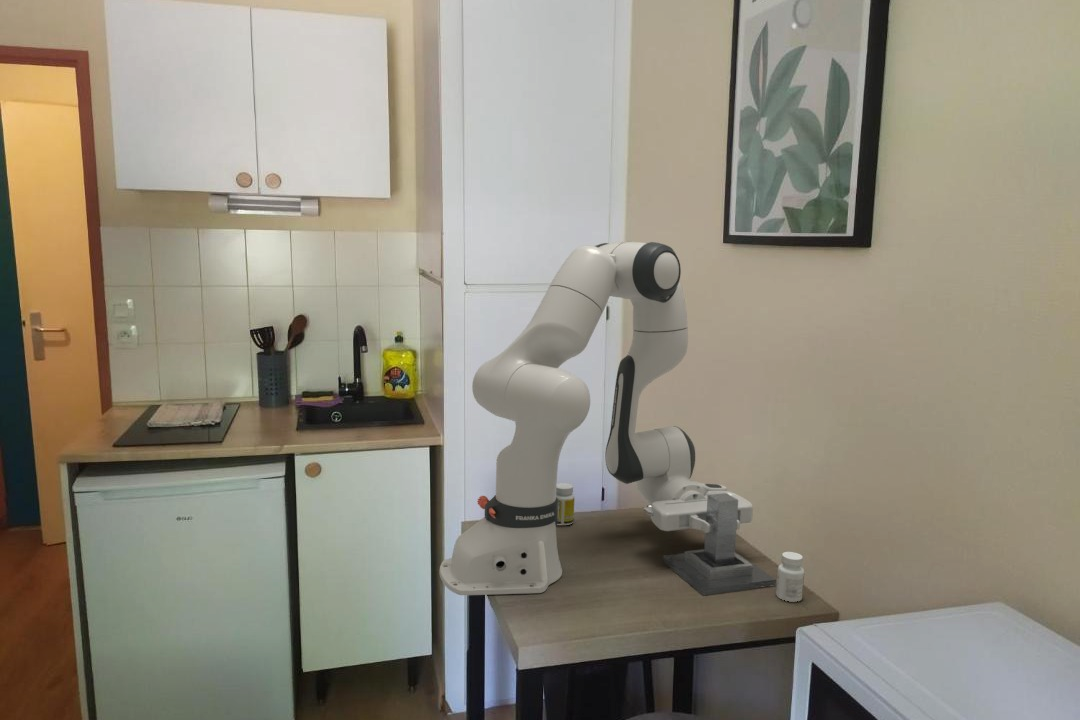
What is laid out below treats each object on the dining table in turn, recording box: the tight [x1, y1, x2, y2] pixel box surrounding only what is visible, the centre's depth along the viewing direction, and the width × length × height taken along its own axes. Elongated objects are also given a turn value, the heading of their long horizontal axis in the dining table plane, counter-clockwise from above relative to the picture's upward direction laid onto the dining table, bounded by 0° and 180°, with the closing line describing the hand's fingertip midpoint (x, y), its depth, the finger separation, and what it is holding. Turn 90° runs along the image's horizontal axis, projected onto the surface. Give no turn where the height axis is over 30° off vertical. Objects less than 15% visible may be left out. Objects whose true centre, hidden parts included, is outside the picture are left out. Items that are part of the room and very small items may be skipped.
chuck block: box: [662, 548, 777, 597], centre depth 142 cm, size 15×15×3 cm
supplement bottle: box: [556, 482, 575, 525], centre depth 166 cm, size 5×5×8 cm
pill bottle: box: [775, 551, 805, 603], centre depth 133 cm, size 4×4×8 cm
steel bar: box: [703, 493, 738, 564], centre depth 141 cm, size 4×4×12 cm
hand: (723, 527), depth 140 cm, fingers closed on steel bar, 4 cm apart
